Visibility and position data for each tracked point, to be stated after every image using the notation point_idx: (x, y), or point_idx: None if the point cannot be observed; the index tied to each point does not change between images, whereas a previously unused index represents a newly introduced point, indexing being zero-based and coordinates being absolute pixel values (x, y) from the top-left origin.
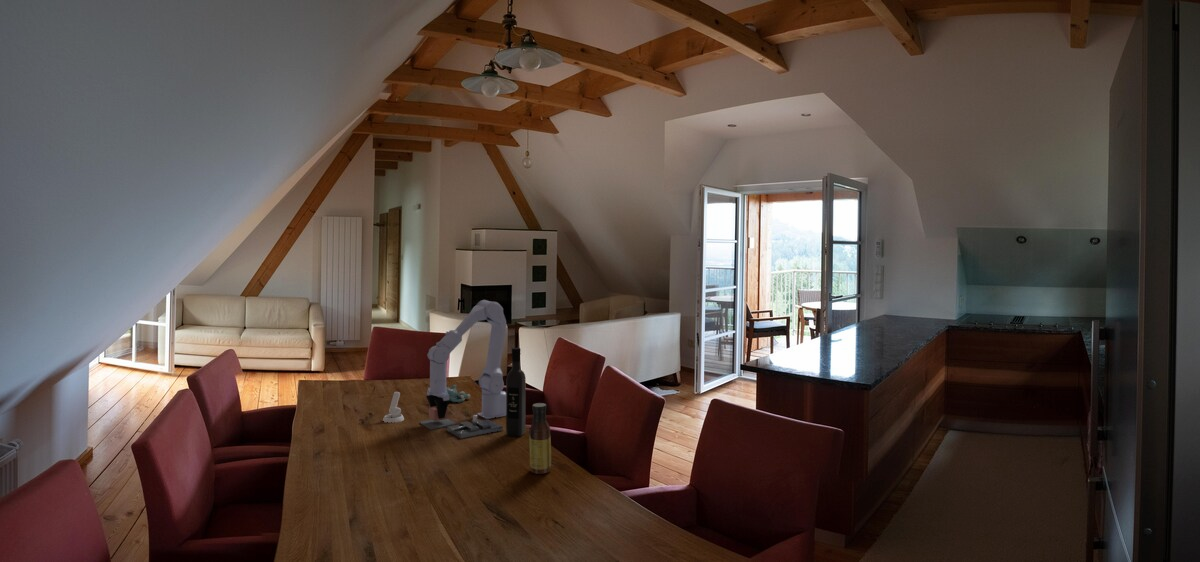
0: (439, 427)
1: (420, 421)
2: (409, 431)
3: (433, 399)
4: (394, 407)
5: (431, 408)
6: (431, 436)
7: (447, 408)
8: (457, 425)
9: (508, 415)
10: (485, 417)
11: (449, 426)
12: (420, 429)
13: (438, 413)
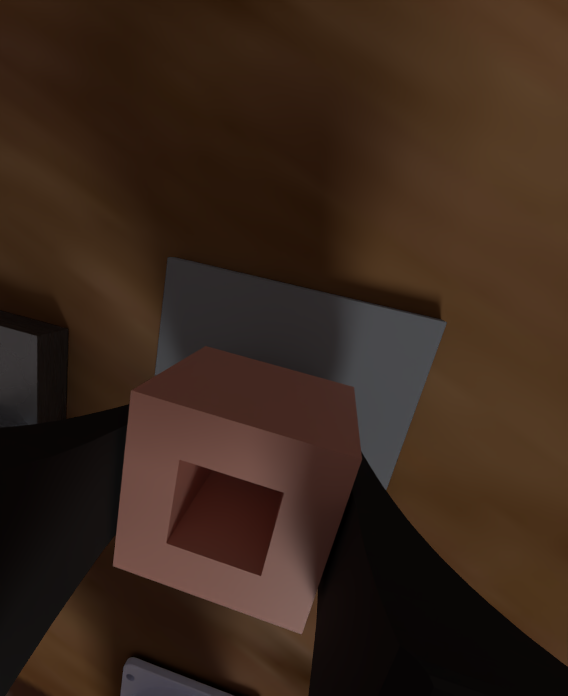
0: (162, 338)
1: (442, 329)
2: (276, 58)
3: (346, 677)
4: None
5: (246, 425)
6: (10, 139)
7: (116, 558)
8: (21, 413)
9: None
10: (141, 669)
11: (32, 354)
12: (254, 194)
13: (129, 405)
